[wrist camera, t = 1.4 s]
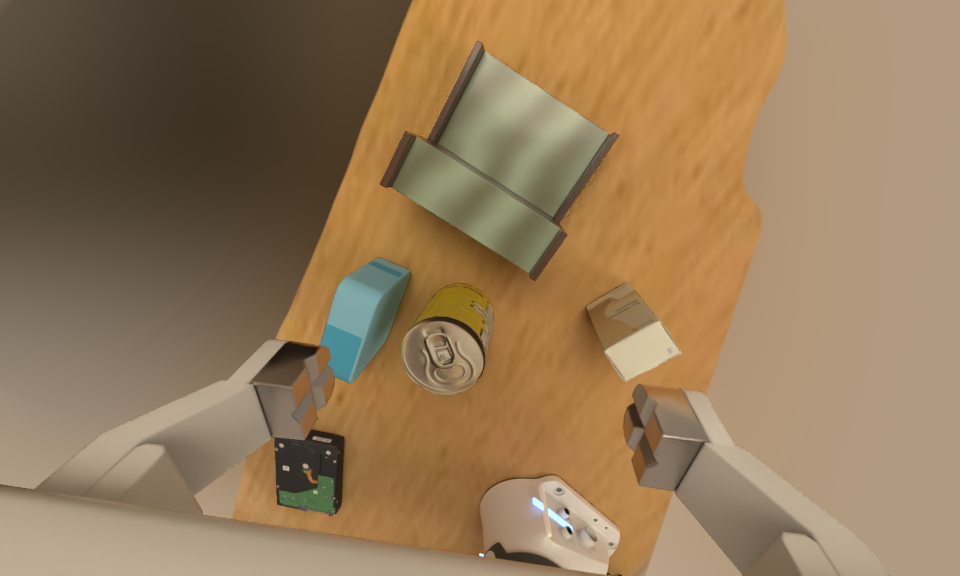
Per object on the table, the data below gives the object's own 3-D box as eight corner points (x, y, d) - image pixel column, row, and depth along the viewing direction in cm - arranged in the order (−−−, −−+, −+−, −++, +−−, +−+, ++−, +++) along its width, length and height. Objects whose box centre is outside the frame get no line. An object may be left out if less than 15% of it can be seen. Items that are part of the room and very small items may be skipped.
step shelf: (605, 140, 41) (644, 125, 28) (531, 250, 45) (535, 281, 33) (484, 59, 40) (465, 4, 27) (420, 181, 44) (379, 184, 31)
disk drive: (284, 421, 58) (286, 492, 63) (272, 433, 56) (275, 506, 60) (345, 434, 58) (343, 504, 62) (337, 446, 55) (335, 519, 60)
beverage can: (445, 353, 51) (423, 404, 40) (417, 297, 49) (385, 334, 38) (503, 332, 49) (498, 380, 38) (477, 273, 47) (463, 305, 36)
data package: (382, 254, 48) (338, 279, 36) (413, 267, 48) (379, 297, 36) (357, 329, 52) (310, 373, 40) (386, 341, 52) (348, 389, 40)
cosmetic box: (627, 280, 45) (663, 317, 34) (644, 306, 46) (686, 352, 34) (582, 307, 47) (602, 351, 35) (600, 332, 48) (625, 384, 36)
